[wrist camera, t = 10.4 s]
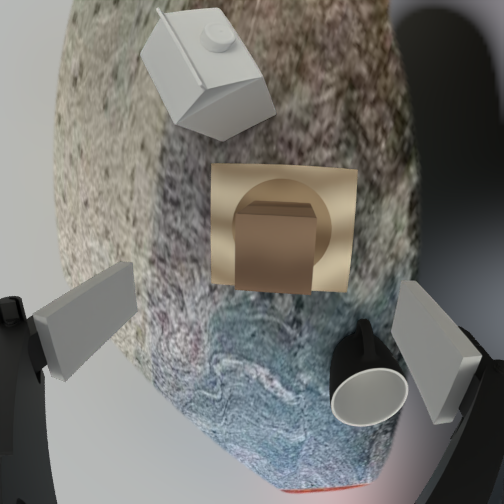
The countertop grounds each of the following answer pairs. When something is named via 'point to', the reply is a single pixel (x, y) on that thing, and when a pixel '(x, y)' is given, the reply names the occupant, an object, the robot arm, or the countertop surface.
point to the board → (286, 190)
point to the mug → (365, 379)
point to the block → (275, 247)
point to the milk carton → (206, 74)
